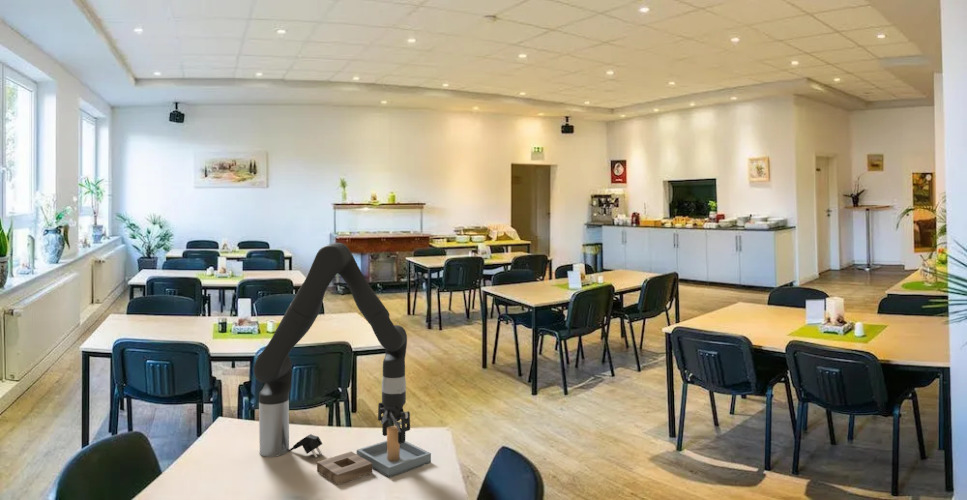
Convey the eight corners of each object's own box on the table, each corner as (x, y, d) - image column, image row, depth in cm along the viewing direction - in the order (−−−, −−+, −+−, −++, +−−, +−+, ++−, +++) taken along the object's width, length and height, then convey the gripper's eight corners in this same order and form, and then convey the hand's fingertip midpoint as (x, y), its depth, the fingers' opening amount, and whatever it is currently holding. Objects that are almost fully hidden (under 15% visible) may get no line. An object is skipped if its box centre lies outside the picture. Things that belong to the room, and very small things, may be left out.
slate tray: (356, 458, 195) (356, 449, 195) (397, 445, 206) (397, 437, 206) (389, 477, 182) (389, 467, 182) (430, 462, 193) (430, 453, 193)
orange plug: (384, 458, 194) (384, 427, 194) (394, 455, 197) (394, 424, 197) (391, 462, 191) (391, 431, 191) (402, 458, 194) (402, 428, 194)
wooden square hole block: (317, 471, 186) (317, 461, 185) (351, 460, 194) (351, 451, 194) (337, 484, 177) (337, 474, 177) (372, 472, 185) (372, 463, 185)
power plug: (293, 445, 203) (318, 429, 200) (304, 465, 202) (330, 449, 199) (282, 451, 198) (308, 435, 194) (294, 472, 197) (320, 455, 193)
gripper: (371, 386, 195) (371, 435, 196) (397, 397, 185) (397, 448, 186) (390, 382, 200) (390, 430, 201) (417, 392, 190) (416, 442, 191)
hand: (393, 439), depth 194 cm, fingers open, 8 cm apart
